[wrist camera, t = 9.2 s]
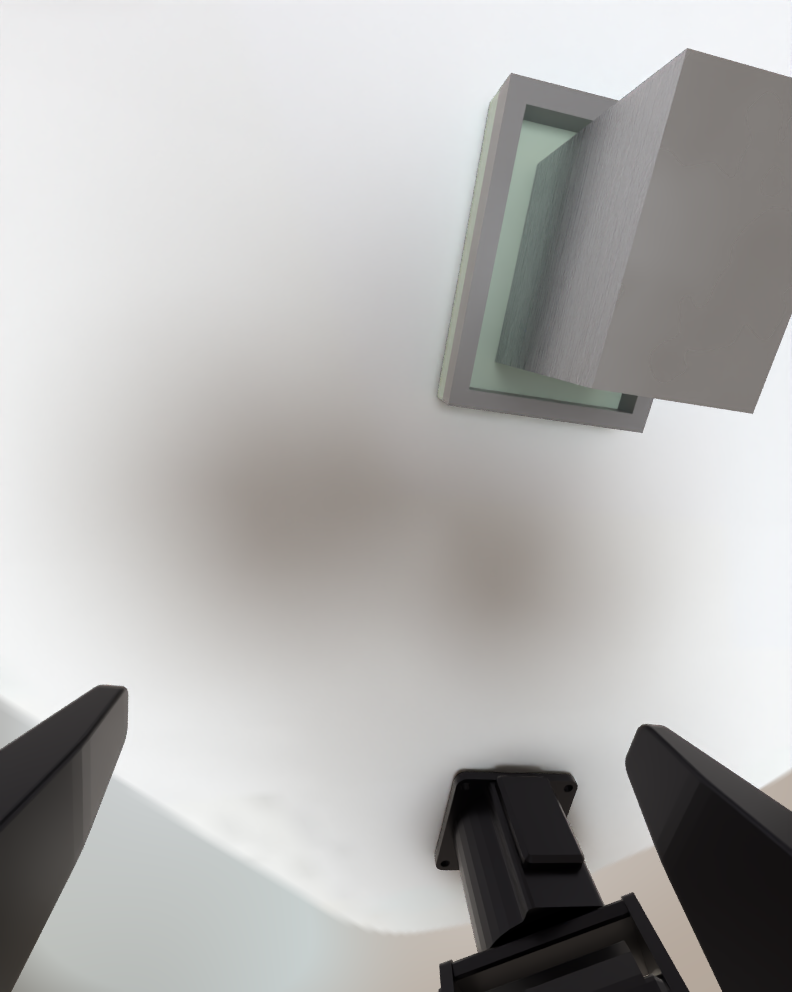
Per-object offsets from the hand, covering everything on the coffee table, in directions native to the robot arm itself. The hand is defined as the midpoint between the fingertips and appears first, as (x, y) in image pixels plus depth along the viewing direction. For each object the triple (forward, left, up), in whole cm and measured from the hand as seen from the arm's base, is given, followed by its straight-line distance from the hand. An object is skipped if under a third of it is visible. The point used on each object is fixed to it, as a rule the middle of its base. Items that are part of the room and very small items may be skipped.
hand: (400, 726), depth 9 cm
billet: (+9, -6, -11) cm, 15 cm away
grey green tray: (+9, -6, -12) cm, 16 cm away
